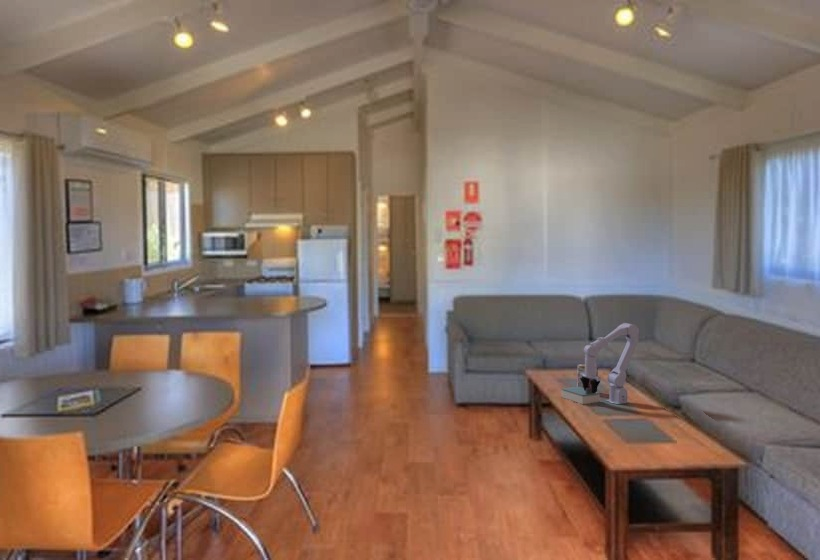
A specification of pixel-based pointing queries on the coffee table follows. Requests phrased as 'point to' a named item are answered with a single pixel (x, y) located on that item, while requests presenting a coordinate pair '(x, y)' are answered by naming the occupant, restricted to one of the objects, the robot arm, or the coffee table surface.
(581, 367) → the candy bar box
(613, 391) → the robot arm
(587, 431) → the coffee table surface
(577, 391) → the carton lid
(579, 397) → the carton
